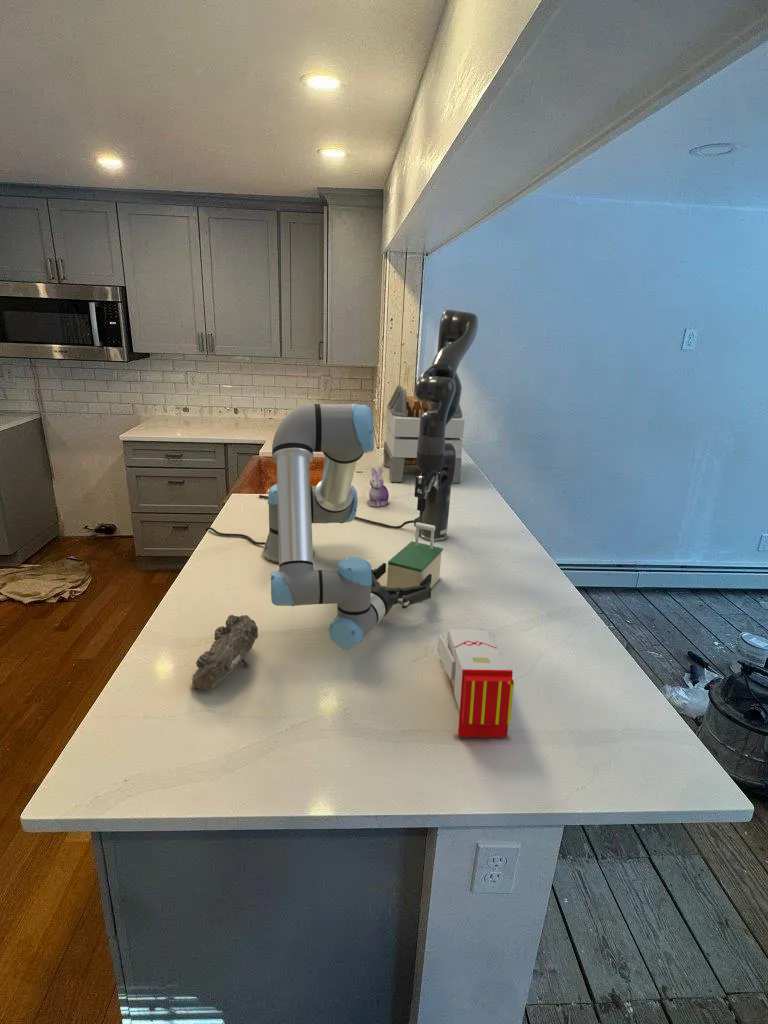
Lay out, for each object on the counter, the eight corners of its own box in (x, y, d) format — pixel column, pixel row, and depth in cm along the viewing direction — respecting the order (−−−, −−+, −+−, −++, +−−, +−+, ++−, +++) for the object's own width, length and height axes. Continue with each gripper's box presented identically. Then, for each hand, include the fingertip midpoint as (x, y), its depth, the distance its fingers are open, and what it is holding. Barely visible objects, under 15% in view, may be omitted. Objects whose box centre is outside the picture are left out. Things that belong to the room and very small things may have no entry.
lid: (411, 543, 170) (413, 518, 167) (442, 550, 166) (444, 524, 163) (387, 564, 155) (389, 536, 153) (421, 572, 151) (423, 544, 149)
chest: (408, 571, 172) (410, 545, 169) (439, 578, 168) (441, 552, 165) (386, 592, 158) (387, 564, 155) (419, 601, 154) (421, 572, 151)
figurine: (373, 508, 223) (374, 472, 218) (362, 500, 232) (363, 465, 226) (394, 505, 227) (396, 469, 222) (382, 498, 236) (384, 463, 231)
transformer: (382, 463, 289) (386, 382, 275) (445, 464, 293) (451, 384, 279) (390, 482, 257) (394, 392, 243) (460, 483, 261) (468, 394, 247)
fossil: (211, 617, 133) (257, 588, 128) (239, 645, 136) (285, 617, 131) (171, 683, 114) (223, 651, 109) (205, 714, 117) (257, 684, 112)
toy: (488, 613, 130) (523, 677, 101) (484, 667, 133) (517, 744, 104) (435, 612, 130) (455, 676, 101) (432, 666, 133) (451, 743, 103)
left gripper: (328, 607, 144) (366, 575, 162) (419, 633, 134) (448, 596, 152) (328, 580, 141) (367, 550, 160) (421, 605, 132) (451, 570, 150)
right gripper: (434, 458, 148) (430, 516, 153) (452, 447, 160) (447, 501, 165) (408, 453, 151) (404, 511, 156) (427, 443, 163) (423, 497, 168)
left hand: (407, 572), depth 156 cm, fingers open, 13 cm apart
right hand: (426, 506), depth 161 cm, fingers open, 8 cm apart
